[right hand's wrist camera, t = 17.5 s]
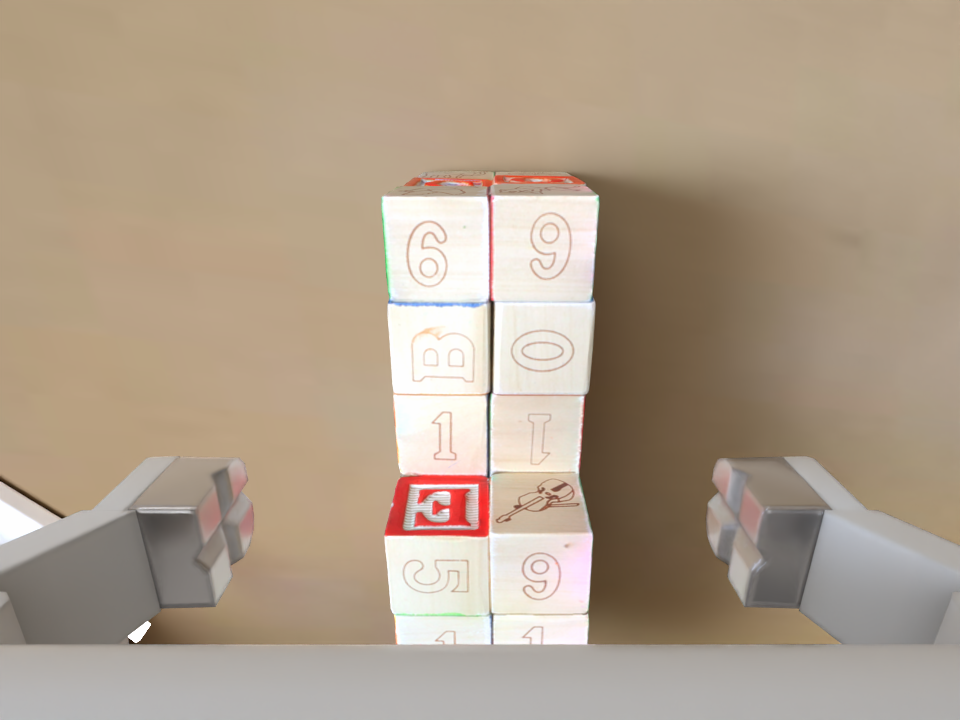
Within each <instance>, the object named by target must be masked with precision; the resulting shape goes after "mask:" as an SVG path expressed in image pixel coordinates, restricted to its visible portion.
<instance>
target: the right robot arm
mask: <svg viewBox="0 0 960 720" xmlns="http://www.w3.org/2000/svg"><path fill="white" fill-rule="evenodd" d="M247 482H248V476H247V471H246V467H245V463H244V462H243V461H242V460H241V459H240V458H228V457H180V456H162V457H149V458H146V459H145V460H144V461H143V462H142V463H141V464H140V465H139V466H138V467H137V468H135V469H134V470H133V471H132V472H131V473H130V474H129V475H128V476H127V477H126V478H125V479H124V480H123V481H122V482H121V483H120V484H119V485H118V486H117V487H116V488H114V489H113V490H112V491H111V492H110V493H109V494H108V495H107V496H106V497H105V498H104V499H103V500H102V501H101V502H100V503H99V504H98V505H97V506H96V507H95V508H94V509H92V510H81V511H79V512H77V513H74V514H72V515H70V516H67V517H65V518H63V519H61V518H60V517H58V516H56V515H55V514H53V513H51V512H50V511H48V510H46V509H45V508H43V507H42V506H40V505H38V504H37V503H35V502H33V501H32V500H30V499H28V498H27V497H25V496H24V495H22V494H20V493H19V492H17V491H15V490H14V489H12V488H10V487H9V486H7V485H6V484H4V483H2V482H1V481H0V720H960V545H958V544H955V543H953V542H951V541H948V540H946V539H944V538H941V537H939V536H937V535H935V534H932V533H930V532H928V531H925V530H923V529H921V528H918V527H916V526H914V525H911V524H909V523H907V522H904V521H902V520H900V519H897V518H895V517H893V516H890V515H888V514H886V513H883V512H881V511H879V510H868V509H867V508H865V507H864V506H863V505H862V504H861V503H860V502H859V501H858V500H857V499H856V498H855V497H854V496H853V495H852V494H851V493H850V492H849V491H848V490H847V489H846V488H845V487H844V486H842V485H841V484H840V483H839V482H838V481H837V480H836V479H835V478H834V477H833V476H832V475H831V474H830V473H829V472H828V471H827V470H826V469H825V468H824V467H823V466H822V465H821V464H819V463H818V462H817V461H816V460H815V459H814V458H811V457H808V456H793V457H755V458H723V459H718V460H717V462H716V464H715V466H714V470H713V476H712V482H713V483H714V485H715V486H716V488H717V489H718V491H719V492H718V493H717V494H716V495H715V496H714V497H713V498H712V499H711V500H710V501H709V502H708V506H707V513H706V527H707V536H708V539H709V543H710V546H711V548H712V550H713V552H714V554H715V556H716V557H717V558H718V559H720V560H721V561H723V562H724V563H726V564H727V565H729V570H728V575H727V577H728V579H729V581H730V582H731V584H732V586H733V588H734V589H735V591H736V593H737V595H738V596H739V598H740V600H741V602H742V603H743V605H744V607H765V608H800V609H799V611H800V612H801V613H802V614H804V615H805V616H806V617H808V618H809V619H810V620H812V621H813V622H814V623H815V624H817V625H818V626H819V627H821V628H822V629H823V630H825V631H826V632H827V633H828V634H830V635H831V636H832V637H834V638H835V639H836V640H837V641H839V642H840V643H841V644H129V638H130V639H132V640H133V641H134V642H135V643H136V642H138V641H139V640H140V639H141V638H142V637H143V635H144V634H145V632H146V631H147V629H148V628H149V626H150V625H151V624H150V623H149V622H147V621H149V620H150V619H151V618H153V617H154V616H155V615H156V614H158V613H159V612H160V611H161V609H160V608H193V607H216V605H217V603H218V602H219V600H220V598H221V596H222V595H223V593H224V591H225V589H226V588H227V586H228V584H229V582H230V581H231V579H232V577H233V575H232V570H231V565H233V564H234V563H236V562H237V561H239V560H240V559H242V558H243V557H244V555H245V554H246V552H247V550H248V548H249V546H250V543H251V538H252V534H253V530H254V512H253V505H252V502H251V501H250V500H249V499H248V498H247V497H246V496H245V495H244V494H243V493H242V492H241V491H242V489H243V488H244V486H245V485H246V483H247ZM128 637H129V638H128Z"/></svg>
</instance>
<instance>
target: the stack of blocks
mask: <svg viewBox="0 0 960 720" xmlns="http://www.w3.org/2000/svg"><path fill="white" fill-rule="evenodd" d="M599 205H600V199H599V195H597V194H596V193H595V192H593V191H592V190H591V189H589V188H588V187H587V186H586V183H585V182H583V181H582V180H580V179H578V178H576V177H574V176H572V175H570V174H568V173H566V172H490V171H437V172H424V173H422V174H420V175H419V176H418V177H417V178H413V179H412V180H410V181H409V182H408V183H406V184H405V185H404V186H401V187H396V188H395V189H393V190H392V191H390V192H388V193H387V194H385V195H384V196H383V197H382V204H381V209H382V220H383V234H384V247H385V262H386V277H387V285H388V293H389V302H388V325H389V339H390V353H391V367H392V380H393V390H394V403H393V406H394V419H395V431H396V441H397V453H398V464H399V469H400V471H401V475H400V477H399V478H398V482H397V486H396V488H395V495H394V499H393V502H392V505H391V509H390V513H389V518H388V522H387V526H386V530H385V535H384V537H385V549H386V558H387V569H388V580H389V591H390V603H391V611H392V612H393V614H394V616H395V635H396V644H588V635H589V615H588V609H589V603H590V586H591V571H592V553H593V540H594V536H593V532H592V528H591V523H590V519H589V515H588V510H587V506H586V501H585V497H584V493H583V488H582V484H581V480H580V476H579V472H580V463H581V451H582V437H583V424H584V412H585V398H586V394H587V393H588V391H589V385H590V375H591V364H592V353H593V339H594V325H595V310H596V302H595V300H594V298H593V296H592V293H593V284H594V271H595V257H596V245H597V230H598V219H599Z"/></svg>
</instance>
